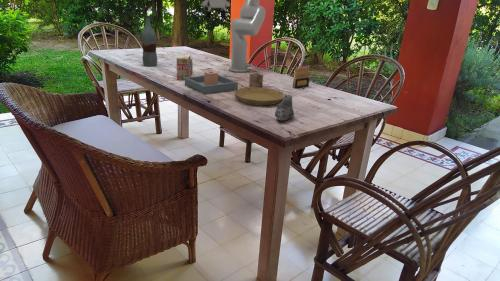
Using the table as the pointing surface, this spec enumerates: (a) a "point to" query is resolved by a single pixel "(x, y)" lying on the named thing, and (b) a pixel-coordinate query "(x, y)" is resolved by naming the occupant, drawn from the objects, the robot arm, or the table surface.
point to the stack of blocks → (184, 66)
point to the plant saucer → (259, 96)
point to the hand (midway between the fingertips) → (216, 19)
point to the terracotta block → (210, 78)
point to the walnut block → (256, 80)
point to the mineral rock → (285, 108)
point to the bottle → (149, 45)
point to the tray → (222, 85)
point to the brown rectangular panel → (301, 77)
